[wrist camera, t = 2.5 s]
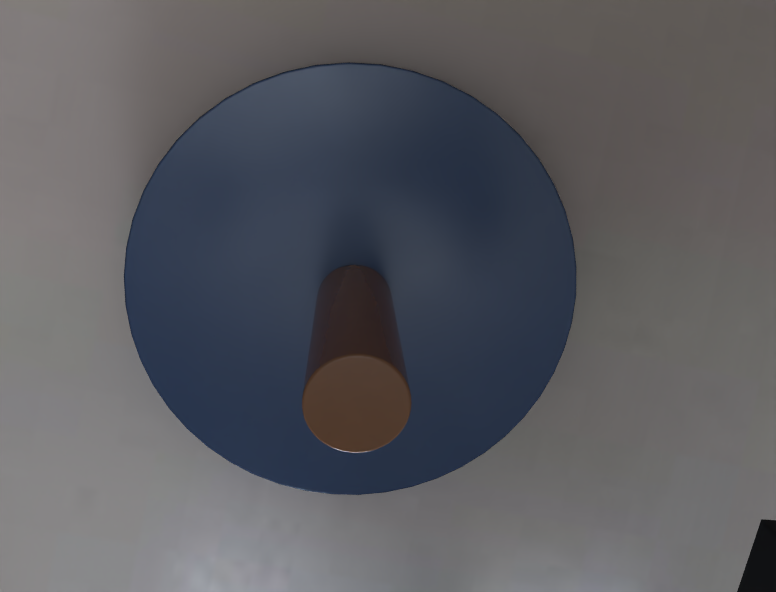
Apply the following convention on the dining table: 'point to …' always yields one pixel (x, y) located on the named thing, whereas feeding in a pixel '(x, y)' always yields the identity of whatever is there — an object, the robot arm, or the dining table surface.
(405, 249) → the pot lid
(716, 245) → the dining table surface
